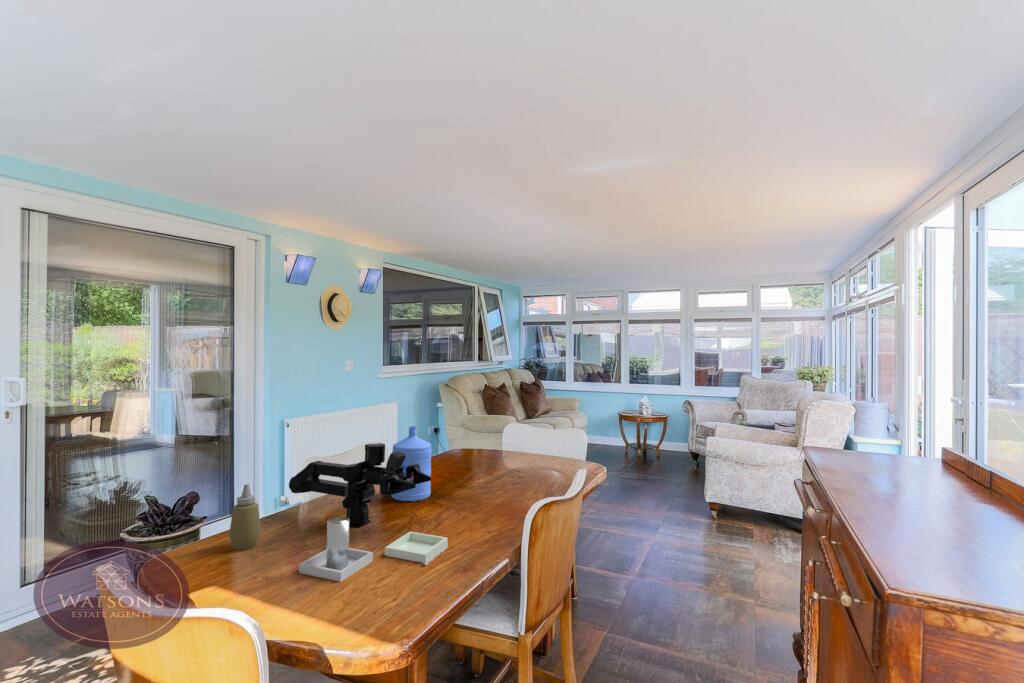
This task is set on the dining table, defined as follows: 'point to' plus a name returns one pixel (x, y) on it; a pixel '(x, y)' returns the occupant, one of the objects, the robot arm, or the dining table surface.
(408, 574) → the dining table surface
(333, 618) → the dining table surface
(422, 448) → the water jug
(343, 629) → the dining table surface
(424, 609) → the dining table surface
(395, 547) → the sage bin
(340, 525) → the brushed metal cylinder
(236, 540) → the squeeze bottle
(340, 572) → the grey bin
